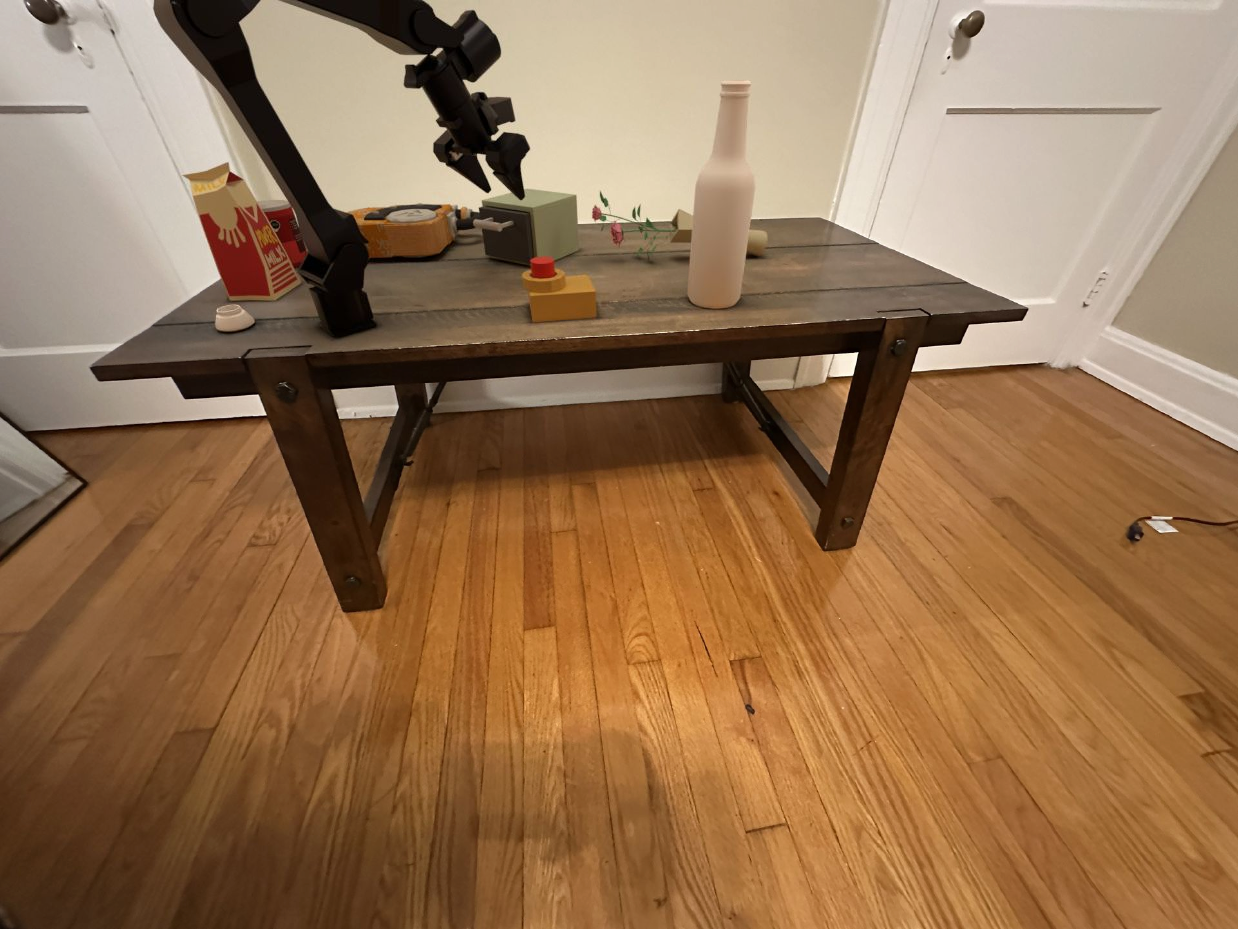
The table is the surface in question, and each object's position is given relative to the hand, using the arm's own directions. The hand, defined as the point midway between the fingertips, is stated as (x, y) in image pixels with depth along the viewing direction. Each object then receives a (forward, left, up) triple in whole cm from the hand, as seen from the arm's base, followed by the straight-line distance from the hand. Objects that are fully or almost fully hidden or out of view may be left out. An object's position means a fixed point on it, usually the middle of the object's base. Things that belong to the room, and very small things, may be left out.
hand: (505, 195), depth 92 cm
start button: (-8, -19, -8) cm, 22 cm away
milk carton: (-37, +24, -14) cm, 46 cm away
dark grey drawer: (+7, +7, -13) cm, 16 cm away
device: (-5, +31, -14) cm, 35 cm away
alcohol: (+15, -35, -14) cm, 40 cm away
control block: (-5, -20, -14) cm, 25 cm away
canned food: (-28, +38, -14) cm, 49 cm away
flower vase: (+29, -16, -14) cm, 36 cm away
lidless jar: (-45, +10, -14) cm, 48 cm away
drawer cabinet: (+11, +8, -14) cm, 20 cm away
